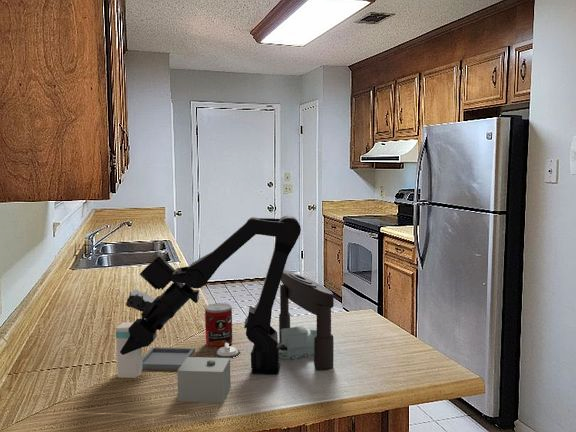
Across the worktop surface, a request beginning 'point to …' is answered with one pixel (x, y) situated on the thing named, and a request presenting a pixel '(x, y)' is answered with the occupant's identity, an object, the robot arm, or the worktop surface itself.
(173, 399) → the worktop surface
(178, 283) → the robot arm
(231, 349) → the stove knob
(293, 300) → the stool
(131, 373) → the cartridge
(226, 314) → the canned food
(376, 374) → the worktop surface
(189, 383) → the unit
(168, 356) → the tray
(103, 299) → the worktop surface
